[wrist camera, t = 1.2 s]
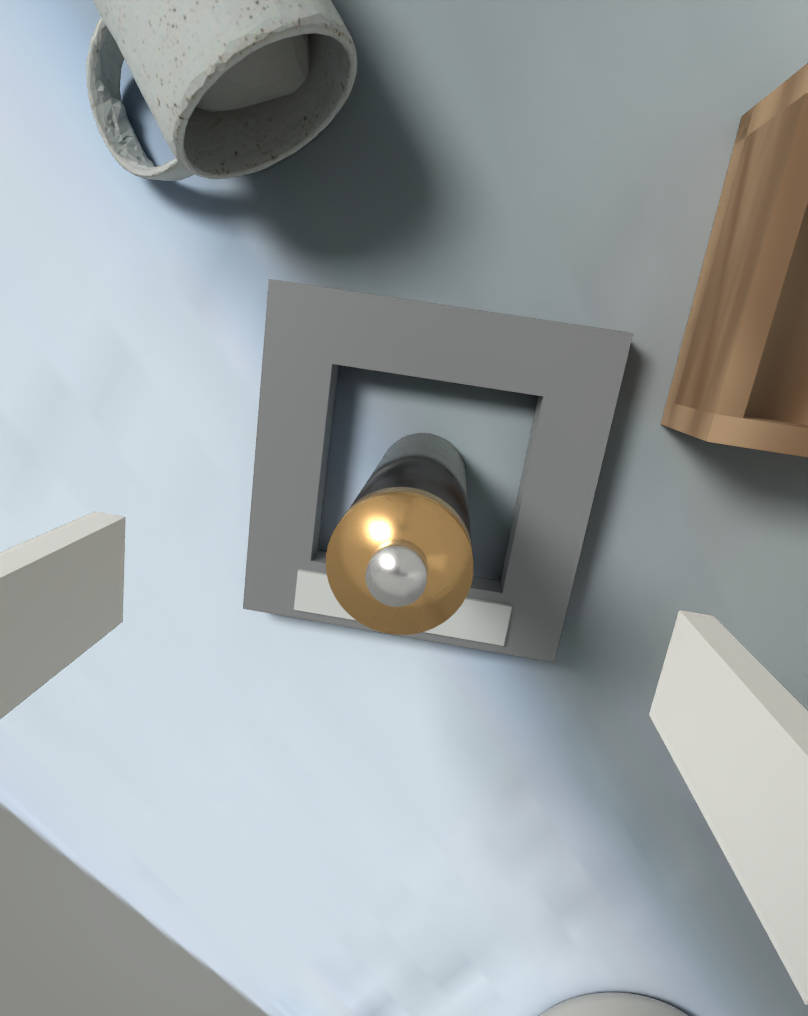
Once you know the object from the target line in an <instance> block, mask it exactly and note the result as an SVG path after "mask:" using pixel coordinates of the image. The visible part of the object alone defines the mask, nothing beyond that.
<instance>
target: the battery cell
mask: <svg viewBox="0 0 808 1016" xmlns="http://www.w3.org/2000/svg"><path fill="white" fill-rule="evenodd" d="M326 574H327V578H328V582H329V585H330V588H331V590H332V592H333V594H334V596H335V598H336V600H337V601H338V602H339V604H340V605H341V607H342V608H343V609H344V610H345V611H346V612H347V613H348V614H349V615H350V616H351V617H353V618H354V619H355V620H357V621H358V622H360V623H361V624H363V625H365V626H367V627H369V628H371V629H373V630H376V631H379V632H383V633H387V634H394V635H410V634H417V633H421V632H425V631H428V630H430V629H433V628H435V627H437V626H439V625H440V624H442V623H444V622H445V621H446V620H448V619H449V618H450V617H451V616H452V615H453V614H454V613H456V611H457V610H458V609H459V608H460V606H461V605H462V604H463V602H464V600H465V599H466V597H467V595H468V592H469V590H470V587H471V583H472V578H473V552H472V545H471V536H470V522H469V509H468V496H467V483H466V471H465V465H464V462H463V460H462V457H461V455H460V454H459V452H458V451H457V449H456V448H455V447H454V446H453V445H452V444H451V443H450V442H448V441H447V440H445V439H443V438H442V437H439V436H437V435H433V434H428V433H417V434H412V435H408V436H406V437H404V438H402V439H400V440H398V441H397V442H396V443H394V444H393V445H392V446H391V447H390V449H389V450H388V451H387V453H386V454H385V456H384V457H383V459H382V460H381V462H380V463H379V465H378V466H377V468H376V469H375V471H374V472H373V474H372V475H371V477H370V478H369V480H368V481H367V483H366V484H365V486H364V487H363V489H362V490H361V492H360V493H359V495H358V496H357V498H356V499H355V501H354V502H353V504H352V505H351V507H350V508H349V510H348V511H347V512H346V513H345V515H344V516H343V518H342V519H341V521H340V522H339V524H338V525H337V527H336V528H335V530H334V532H333V534H332V536H331V538H330V541H329V544H328V547H327V552H326Z"/></svg>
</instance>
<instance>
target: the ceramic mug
mask: <svg viewBox="0 0 808 1016" xmlns="http://www.w3.org/2000/svg"><path fill="white" fill-rule="evenodd" d="M93 2H94V4H95V6H96V8H97V10H98V12H99V13H100V15H101V19H100V20H99V22H98V24H97V26H96V29H95V31H94V33H93V35H92V38H91V42H90V47H89V52H88V56H87V60H86V74H87V88H88V95H89V102H90V105H91V109H92V113H93V116H94V119H95V121H96V124H97V127H98V129H99V132H100V134H101V136H102V138H103V140H104V142H105V144H106V146H107V147H108V149H109V151H110V152H111V154H112V155H113V157H114V158H115V159H116V160H117V162H118V163H119V164H120V165H121V166H122V167H123V168H124V169H126V170H127V171H129V172H130V173H132V174H134V175H136V176H139V177H142V178H146V179H151V180H162V181H177V180H182V179H185V178H188V177H190V176H192V175H194V174H195V175H198V176H201V177H205V178H210V179H228V178H232V177H241V176H243V175H246V174H251V173H255V172H258V171H260V170H263V169H266V168H268V167H270V166H271V165H273V164H275V163H277V162H279V161H281V160H282V159H284V158H286V157H288V156H290V155H292V154H293V153H295V152H296V151H298V150H299V149H300V148H302V147H303V146H305V145H306V144H307V143H309V142H310V141H311V140H312V139H314V138H315V137H316V136H317V135H318V134H319V133H320V132H321V131H322V130H324V129H325V128H326V127H327V126H328V125H329V124H330V122H331V121H332V120H333V118H334V117H335V115H336V114H337V113H338V112H339V111H340V109H341V108H342V106H343V105H344V103H345V102H346V100H347V99H348V97H349V95H350V92H351V90H352V88H353V84H354V81H355V78H356V74H357V54H356V48H355V45H354V42H353V40H352V37H351V35H350V33H349V32H348V30H347V28H346V26H345V24H344V23H343V21H342V19H341V17H340V15H339V13H338V12H337V10H336V8H335V6H334V5H333V3H332V1H331V0H93ZM124 59H125V61H126V63H127V65H128V67H129V69H130V71H131V73H132V75H133V77H134V79H135V81H136V83H137V85H138V87H139V89H140V91H141V93H142V95H143V97H144V99H145V101H146V103H147V105H148V106H149V108H150V110H151V112H152V114H153V116H154V118H155V120H156V122H157V124H158V126H159V128H160V130H161V132H162V134H163V136H164V138H165V140H166V142H167V144H168V146H169V147H170V149H171V151H172V153H173V154H174V156H175V157H176V158H175V159H173V160H172V161H169V162H167V163H165V164H163V165H160V166H157V167H156V166H154V164H153V162H152V161H150V160H149V159H148V158H147V156H146V154H145V153H144V151H143V149H142V147H141V145H140V143H139V141H138V139H137V137H136V135H135V133H134V130H133V128H132V126H131V124H130V122H129V120H128V118H127V115H126V110H125V107H124V105H123V104H122V102H121V95H120V78H121V68H122V64H123V61H124Z"/></svg>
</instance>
